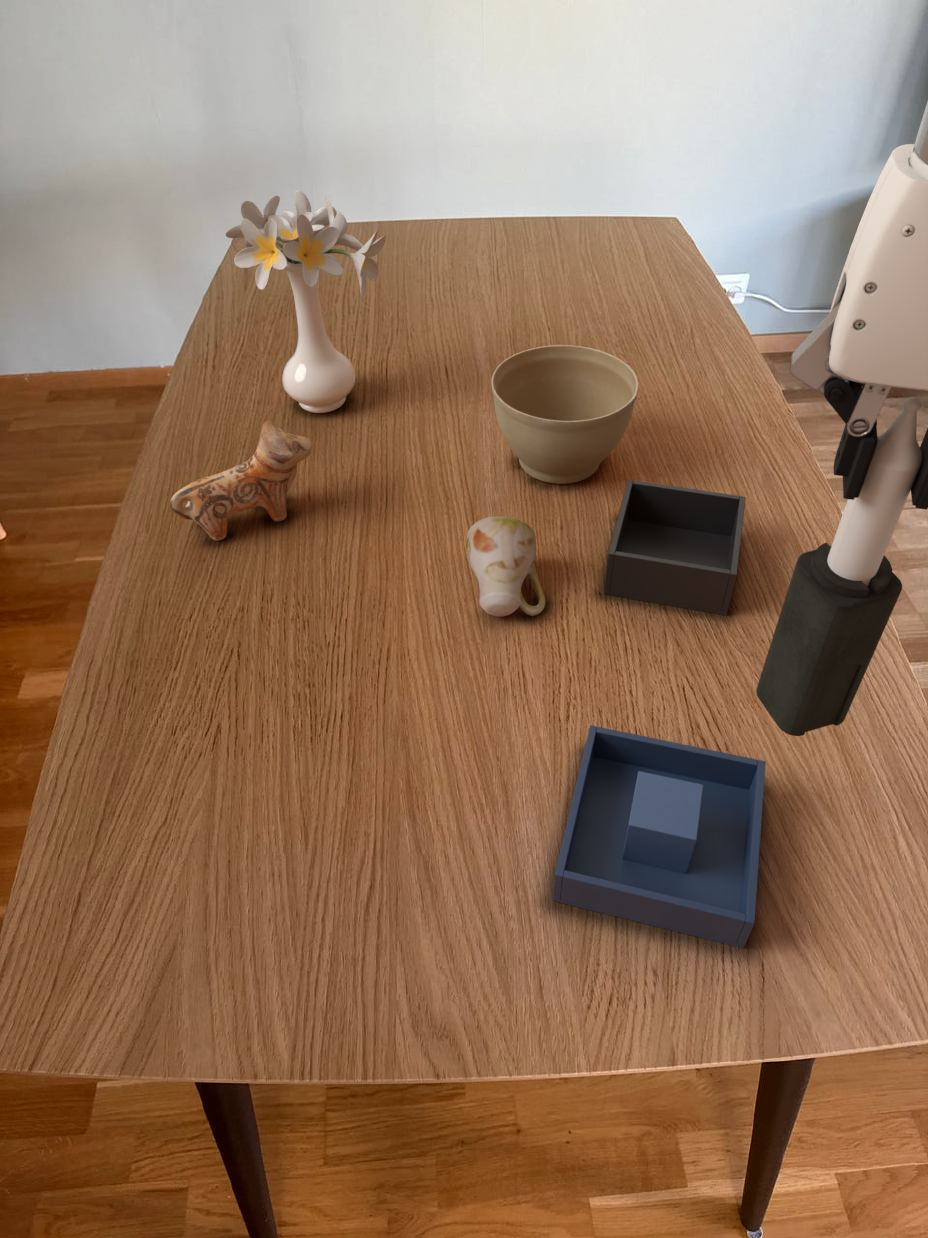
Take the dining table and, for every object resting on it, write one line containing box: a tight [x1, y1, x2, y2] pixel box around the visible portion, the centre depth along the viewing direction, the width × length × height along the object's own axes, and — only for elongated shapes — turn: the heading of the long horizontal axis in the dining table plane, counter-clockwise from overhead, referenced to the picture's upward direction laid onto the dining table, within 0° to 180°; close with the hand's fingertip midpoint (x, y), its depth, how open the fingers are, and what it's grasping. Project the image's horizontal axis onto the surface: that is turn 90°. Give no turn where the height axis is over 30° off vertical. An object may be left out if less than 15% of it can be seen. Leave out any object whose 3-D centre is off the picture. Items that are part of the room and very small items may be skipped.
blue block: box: [622, 771, 703, 874], centre depth 71 cm, size 5×5×5 cm
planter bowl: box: [490, 344, 640, 485], centre depth 104 cm, size 16×16×11 cm
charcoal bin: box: [603, 479, 747, 616], centre depth 93 cm, size 12×12×6 cm
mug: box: [465, 515, 546, 618], centre depth 92 cm, size 8×10×10 cm
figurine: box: [169, 419, 313, 542], centre depth 99 cm, size 7×16×10 cm, turn 117°
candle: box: [755, 396, 922, 737], centre depth 56 cm, size 5×5×25 cm
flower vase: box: [225, 189, 387, 414], centre depth 110 cm, size 13×18×25 cm
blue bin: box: [552, 724, 766, 949], centre depth 71 cm, size 14×14×4 cm
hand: (883, 486), depth 51 cm, fingers closed on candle, 3 cm apart
